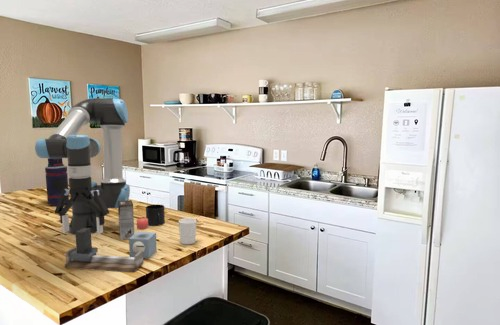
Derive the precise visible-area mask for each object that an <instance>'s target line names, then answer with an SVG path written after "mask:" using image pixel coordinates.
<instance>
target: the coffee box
mask: <svg viewBox="0 0 500 325" xmlns="http://www.w3.org/2000/svg"><path fill="white" fill-rule="evenodd" d="M117 210H118V211H117V212H118V228H119V230H118V232H119V239H120V240H125V239H126V240H127V239H128V238H130V237H132V236H133V235H134V234H135V216H134V214H135V212H134V203H133V201H132V200H131V199H130V200H128V201H118V208H117ZM128 240H129V239H128Z"/></svg>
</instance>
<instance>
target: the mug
mask: <svg viewBox="0 0 500 325" xmlns="http://www.w3.org/2000/svg"><path fill="white" fill-rule="evenodd" d="M145 218H147V219H148V226H152V227H157V226H161V225H163V224H165V222H166V221H165V205H163V204H158V203H157V204H150V205H146V206H145Z"/></svg>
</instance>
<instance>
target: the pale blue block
mask: <svg viewBox="0 0 500 325" xmlns="http://www.w3.org/2000/svg"><path fill="white" fill-rule="evenodd" d="M128 241H129V242H128V247H129V251H128V252H129V257H134V256H135V255H136V254H137V253H138V252H139V251H143V259H144V258H145V259H146V258H149V259H150V258H152V256H153V255H154V254H155V253H157V232H147V231H137V232H135V233H134V235H133V236H132V237H130V238H129V239H128ZM146 260H147V259H146Z"/></svg>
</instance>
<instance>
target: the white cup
mask: <svg viewBox="0 0 500 325" xmlns="http://www.w3.org/2000/svg"><path fill="white" fill-rule="evenodd" d="M197 221H198V220H197V219H196V218H193V217H185V218H181V219H178V230H179V231H178V233H179V239H180V240H179V242H180V244H182V245H192V244H195V243H196V238H197V237H196V236H197Z"/></svg>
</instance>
